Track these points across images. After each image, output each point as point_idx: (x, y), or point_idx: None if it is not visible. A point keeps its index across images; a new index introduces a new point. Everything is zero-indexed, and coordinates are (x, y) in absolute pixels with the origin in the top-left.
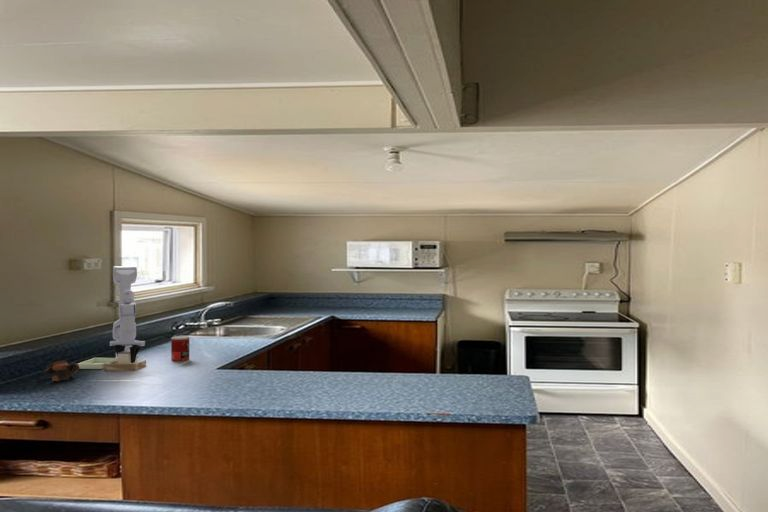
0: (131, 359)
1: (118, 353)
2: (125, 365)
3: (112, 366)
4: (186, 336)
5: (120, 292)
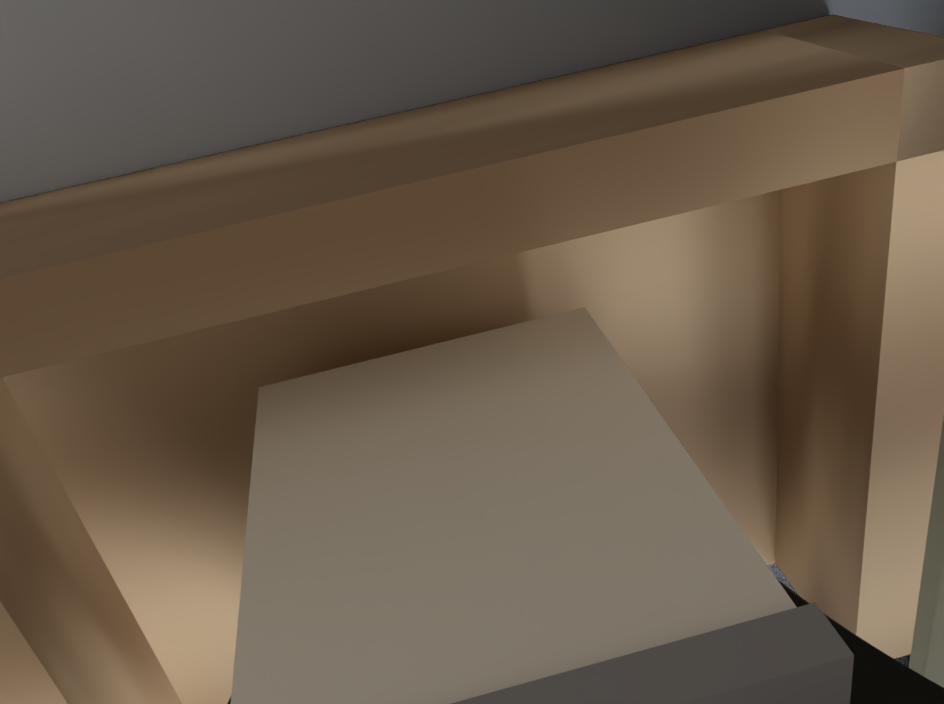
0: None
1: (781, 635)
2: (142, 232)
3: (653, 105)
4: None
5: None
